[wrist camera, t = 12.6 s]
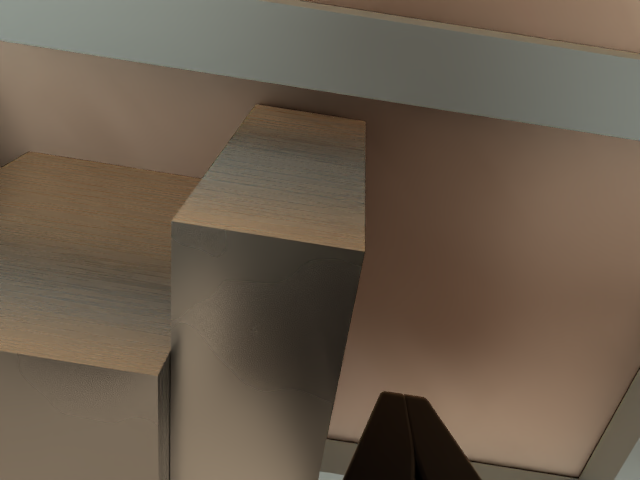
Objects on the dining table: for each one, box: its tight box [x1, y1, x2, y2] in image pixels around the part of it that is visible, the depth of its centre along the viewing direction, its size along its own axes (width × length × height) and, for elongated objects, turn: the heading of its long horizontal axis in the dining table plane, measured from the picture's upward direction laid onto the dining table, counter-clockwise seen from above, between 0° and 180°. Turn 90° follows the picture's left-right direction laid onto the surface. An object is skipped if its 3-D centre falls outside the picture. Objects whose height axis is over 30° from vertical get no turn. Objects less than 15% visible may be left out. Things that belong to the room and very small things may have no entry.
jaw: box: [170, 104, 365, 480], centre depth 9 cm, size 2×8×5 cm, turn 172°
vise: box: [0, 0, 640, 480], centre depth 10 cm, size 18×11×5 cm, turn 82°
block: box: [0, 151, 201, 480], centre depth 9 cm, size 4×4×6 cm
